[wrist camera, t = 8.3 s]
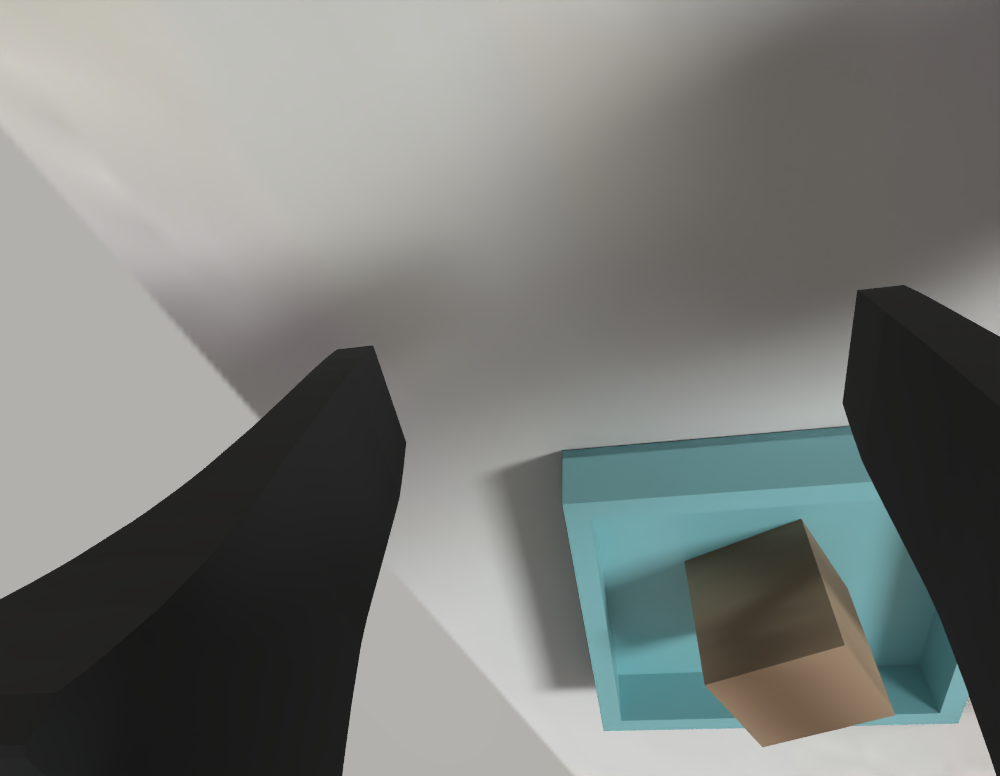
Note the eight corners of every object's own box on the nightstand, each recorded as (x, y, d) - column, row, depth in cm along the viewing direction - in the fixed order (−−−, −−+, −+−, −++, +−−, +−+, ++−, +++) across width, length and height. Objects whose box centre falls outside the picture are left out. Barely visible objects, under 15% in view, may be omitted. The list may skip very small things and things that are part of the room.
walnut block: (801, 518, 25) (844, 645, 21) (847, 588, 28) (895, 715, 24) (684, 561, 27) (704, 685, 23) (735, 623, 29) (762, 746, 25)
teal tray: (1011, 412, 23) (1053, 468, 21) (932, 666, 31) (958, 723, 29) (562, 450, 25) (562, 504, 23) (601, 677, 33) (603, 730, 31)
